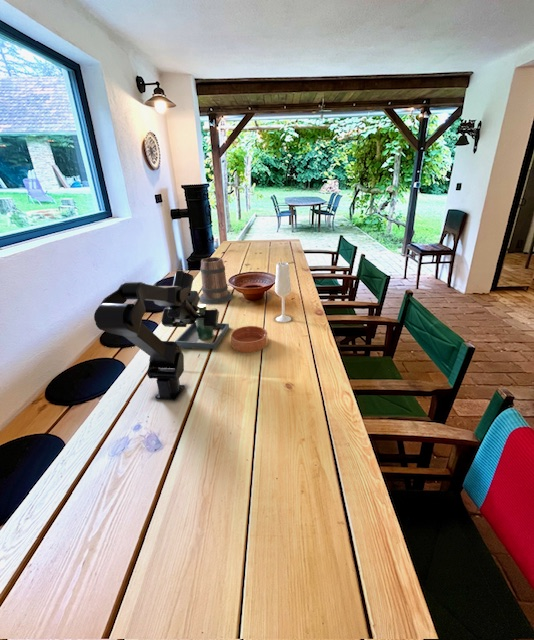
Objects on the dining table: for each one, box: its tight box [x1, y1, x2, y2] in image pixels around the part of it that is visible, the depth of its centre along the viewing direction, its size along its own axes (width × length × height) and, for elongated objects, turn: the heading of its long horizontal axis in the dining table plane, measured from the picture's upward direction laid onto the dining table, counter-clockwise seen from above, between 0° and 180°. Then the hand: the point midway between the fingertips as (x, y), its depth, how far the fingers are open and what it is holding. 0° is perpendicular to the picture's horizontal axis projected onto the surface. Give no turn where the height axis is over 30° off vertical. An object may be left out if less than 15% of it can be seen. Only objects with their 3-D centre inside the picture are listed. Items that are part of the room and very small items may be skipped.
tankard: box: [199, 256, 233, 305], centre depth 163 cm, size 24×17×20 cm
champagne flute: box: [274, 262, 292, 323], centre depth 133 cm, size 7×7×24 cm
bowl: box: [229, 325, 269, 353], centre depth 117 cm, size 13×13×4 cm
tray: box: [174, 321, 230, 350], centre depth 124 cm, size 17×15×2 cm
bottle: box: [195, 303, 215, 342], centre depth 121 cm, size 6×6×13 cm
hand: (198, 325), depth 115 cm, fingers open, 9 cm apart
